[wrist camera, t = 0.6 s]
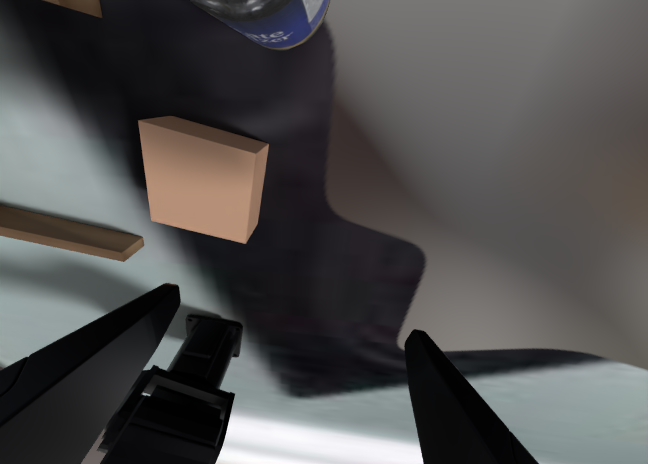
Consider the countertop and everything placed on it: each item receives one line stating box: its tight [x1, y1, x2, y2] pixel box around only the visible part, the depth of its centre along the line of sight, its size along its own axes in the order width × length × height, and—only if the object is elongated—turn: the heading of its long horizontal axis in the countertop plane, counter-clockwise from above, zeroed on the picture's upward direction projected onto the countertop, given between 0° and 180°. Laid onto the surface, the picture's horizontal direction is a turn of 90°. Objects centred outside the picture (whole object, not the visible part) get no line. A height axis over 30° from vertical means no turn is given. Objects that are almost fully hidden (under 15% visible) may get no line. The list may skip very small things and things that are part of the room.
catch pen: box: [0, 0, 144, 262], centre depth 16 cm, size 18×14×2 cm
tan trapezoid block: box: [138, 116, 269, 244], centre depth 17 cm, size 7×7×4 cm
